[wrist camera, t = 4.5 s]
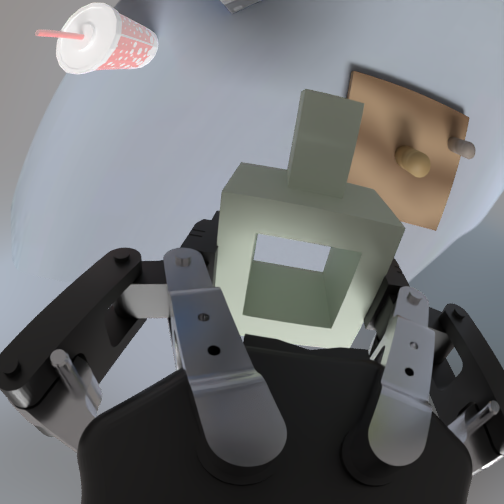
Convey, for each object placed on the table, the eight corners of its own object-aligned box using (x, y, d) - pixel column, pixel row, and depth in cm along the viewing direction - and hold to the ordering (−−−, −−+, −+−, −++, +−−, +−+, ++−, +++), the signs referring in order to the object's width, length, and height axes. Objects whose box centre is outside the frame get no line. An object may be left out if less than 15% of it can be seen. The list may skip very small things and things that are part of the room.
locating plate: (351, 71, 20) (364, 66, 17) (464, 116, 20) (489, 122, 16) (324, 200, 27) (331, 218, 23) (432, 226, 27) (450, 246, 23)
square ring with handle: (337, 293, 15) (348, 350, 11) (227, 275, 15) (210, 329, 12) (392, 115, 10) (436, 126, 6) (252, 83, 10) (235, 76, 7)
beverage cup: (119, 23, 19) (22, 2, 7) (171, 21, 19) (84, -21, 7) (108, 75, 22) (5, 82, 10) (158, 76, 22) (60, 72, 10)
